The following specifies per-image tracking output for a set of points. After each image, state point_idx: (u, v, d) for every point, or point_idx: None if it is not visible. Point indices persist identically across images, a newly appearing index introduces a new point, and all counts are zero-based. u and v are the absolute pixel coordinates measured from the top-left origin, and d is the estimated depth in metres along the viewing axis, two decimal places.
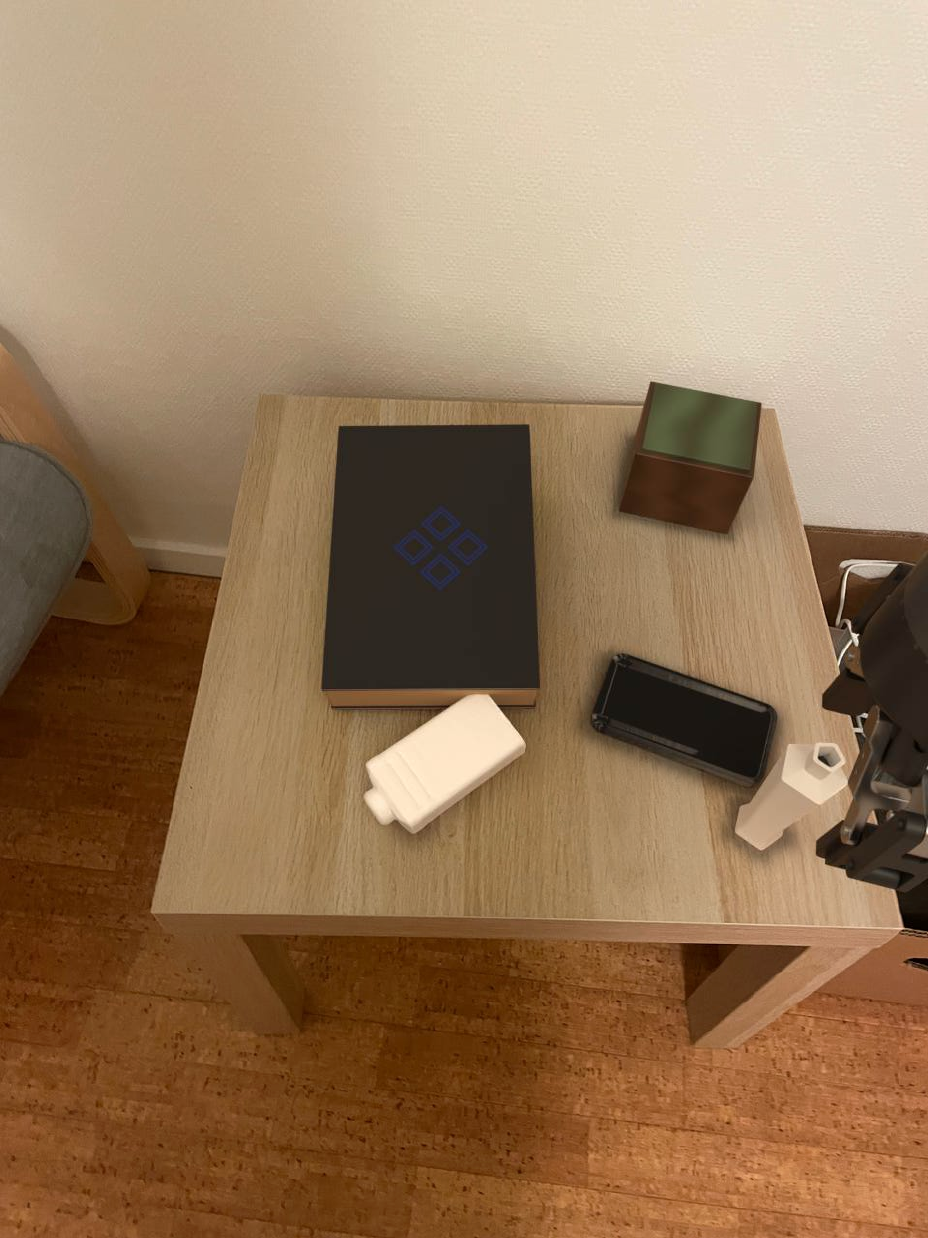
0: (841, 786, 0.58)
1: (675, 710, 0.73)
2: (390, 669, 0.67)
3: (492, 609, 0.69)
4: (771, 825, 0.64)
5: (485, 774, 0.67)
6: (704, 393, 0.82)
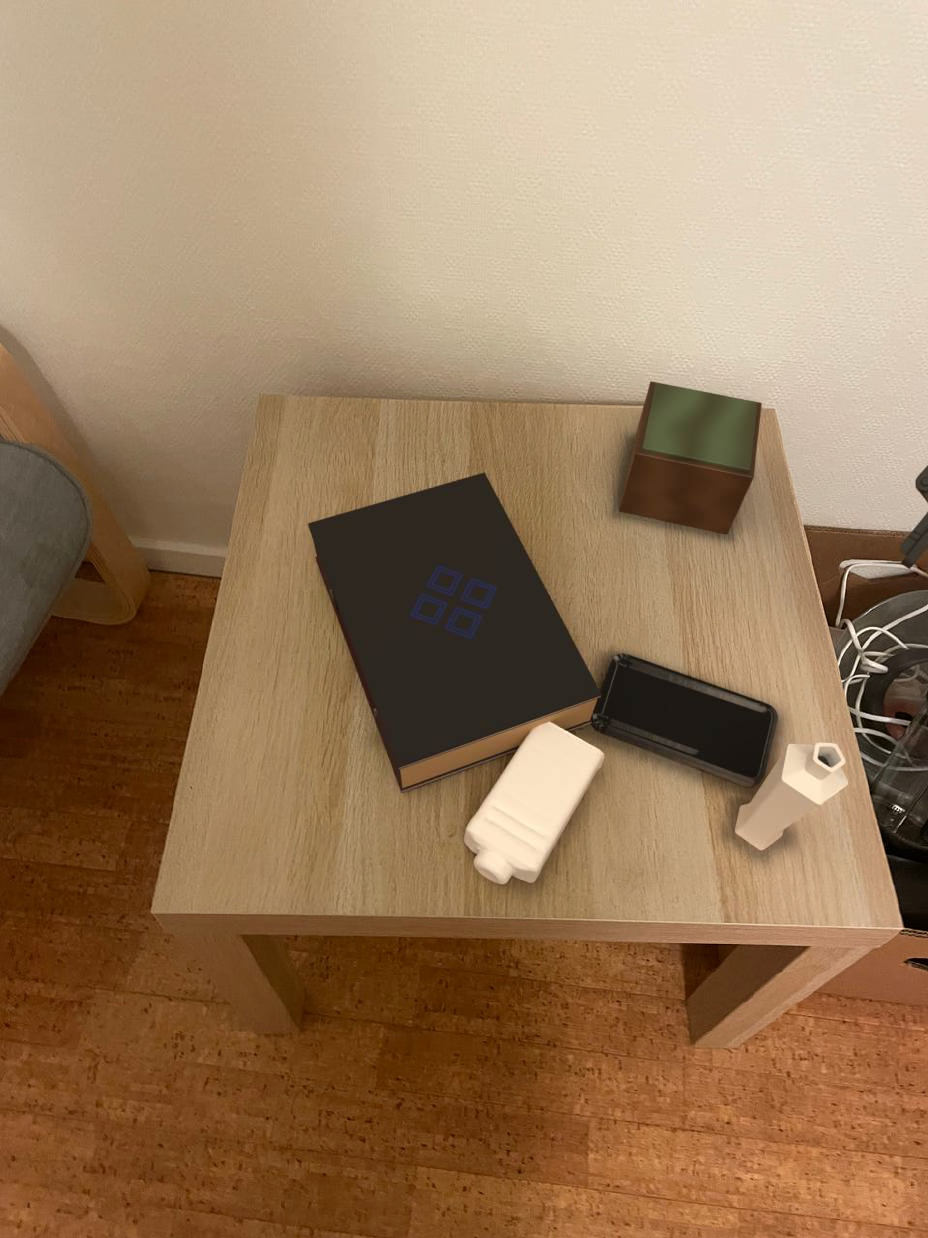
0: (841, 786, 0.58)
1: (675, 710, 0.73)
2: (457, 726, 0.66)
3: (527, 640, 0.70)
4: (771, 825, 0.64)
5: (580, 796, 0.66)
6: (704, 393, 0.82)
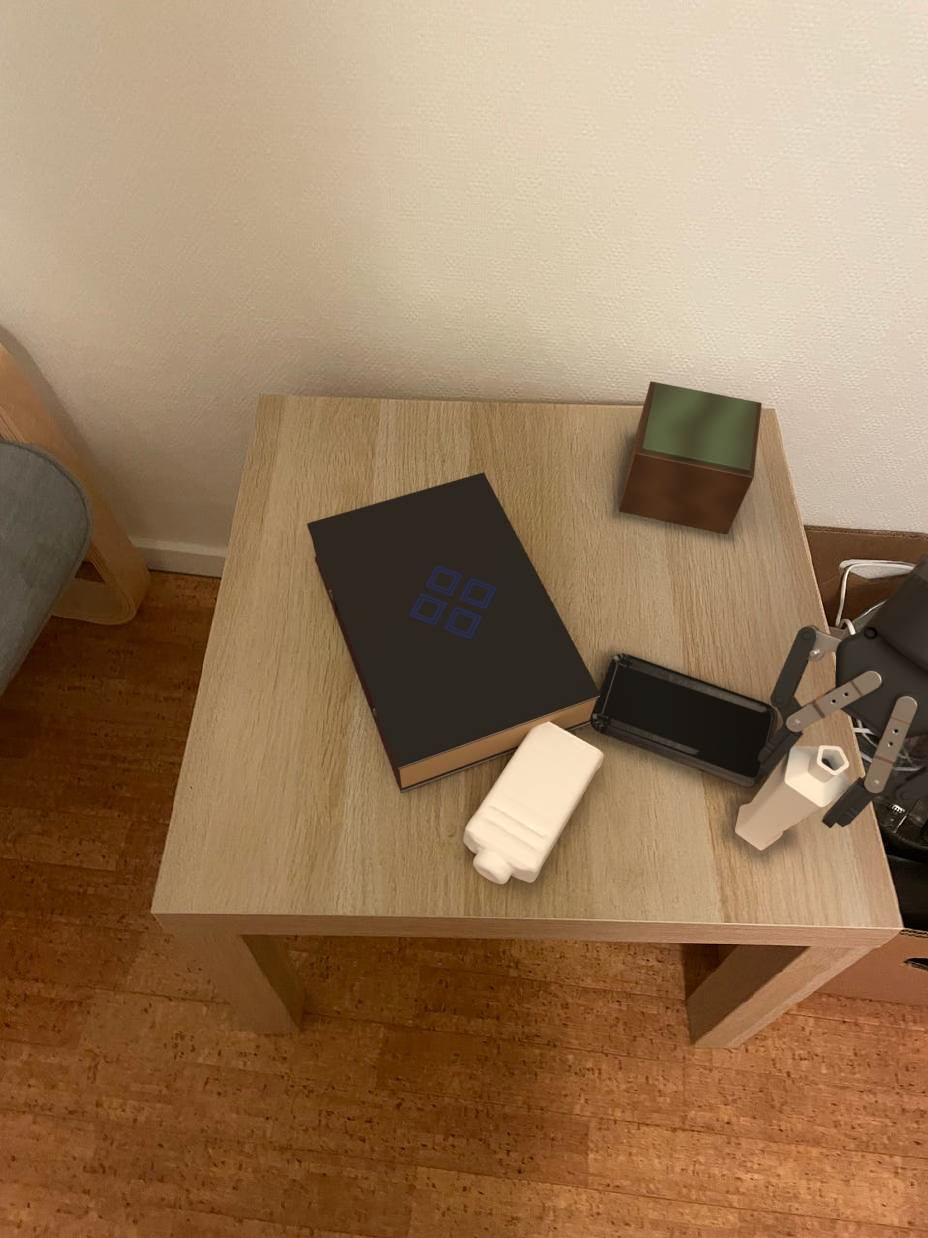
0: (843, 789, 0.58)
1: (675, 710, 0.73)
2: (456, 726, 0.66)
3: (526, 640, 0.70)
4: (772, 825, 0.64)
5: (580, 796, 0.66)
6: (704, 393, 0.82)
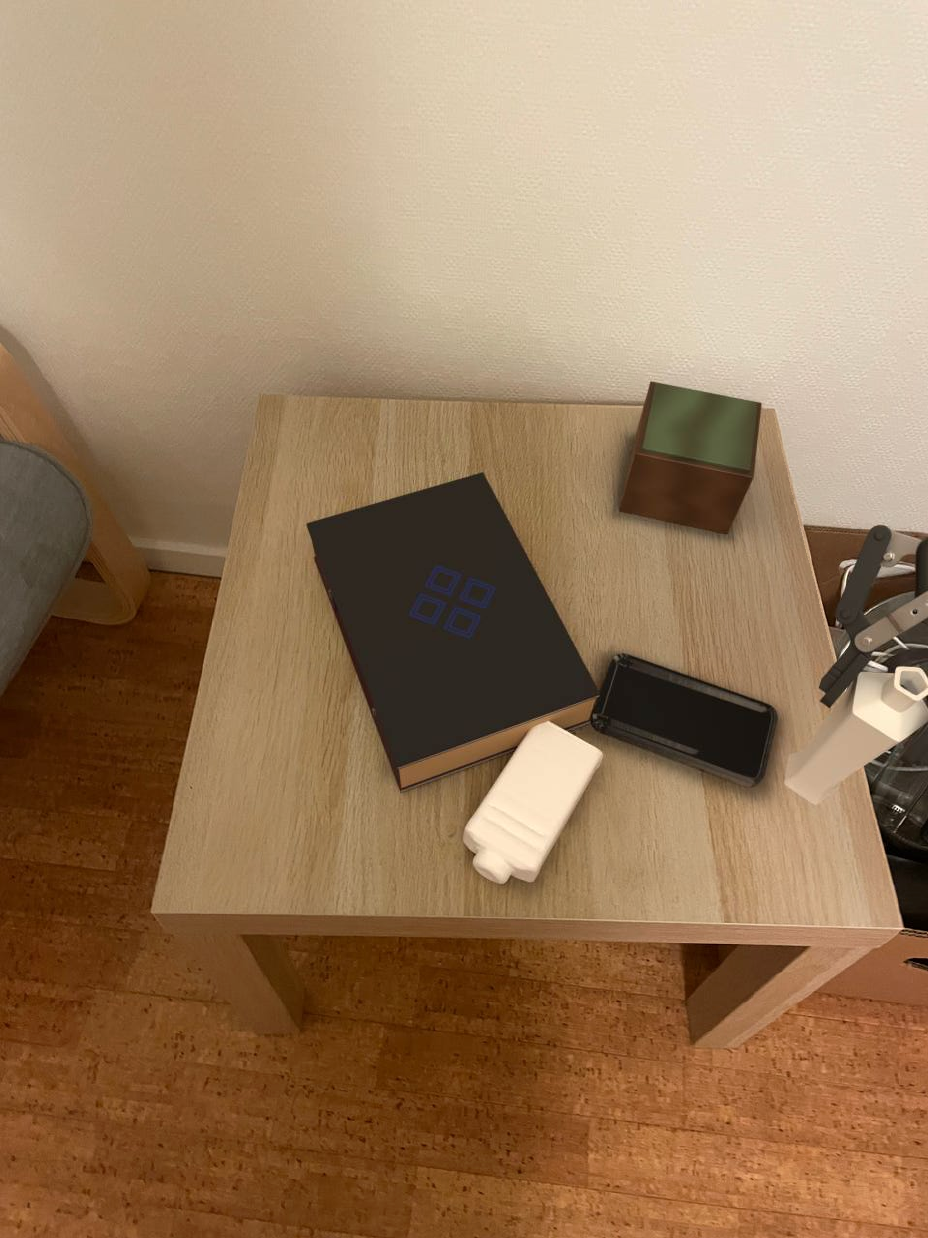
0: (924, 720, 0.48)
1: (675, 710, 0.73)
2: (456, 725, 0.66)
3: (525, 640, 0.70)
4: (832, 772, 0.55)
5: (579, 796, 0.66)
6: (704, 393, 0.82)
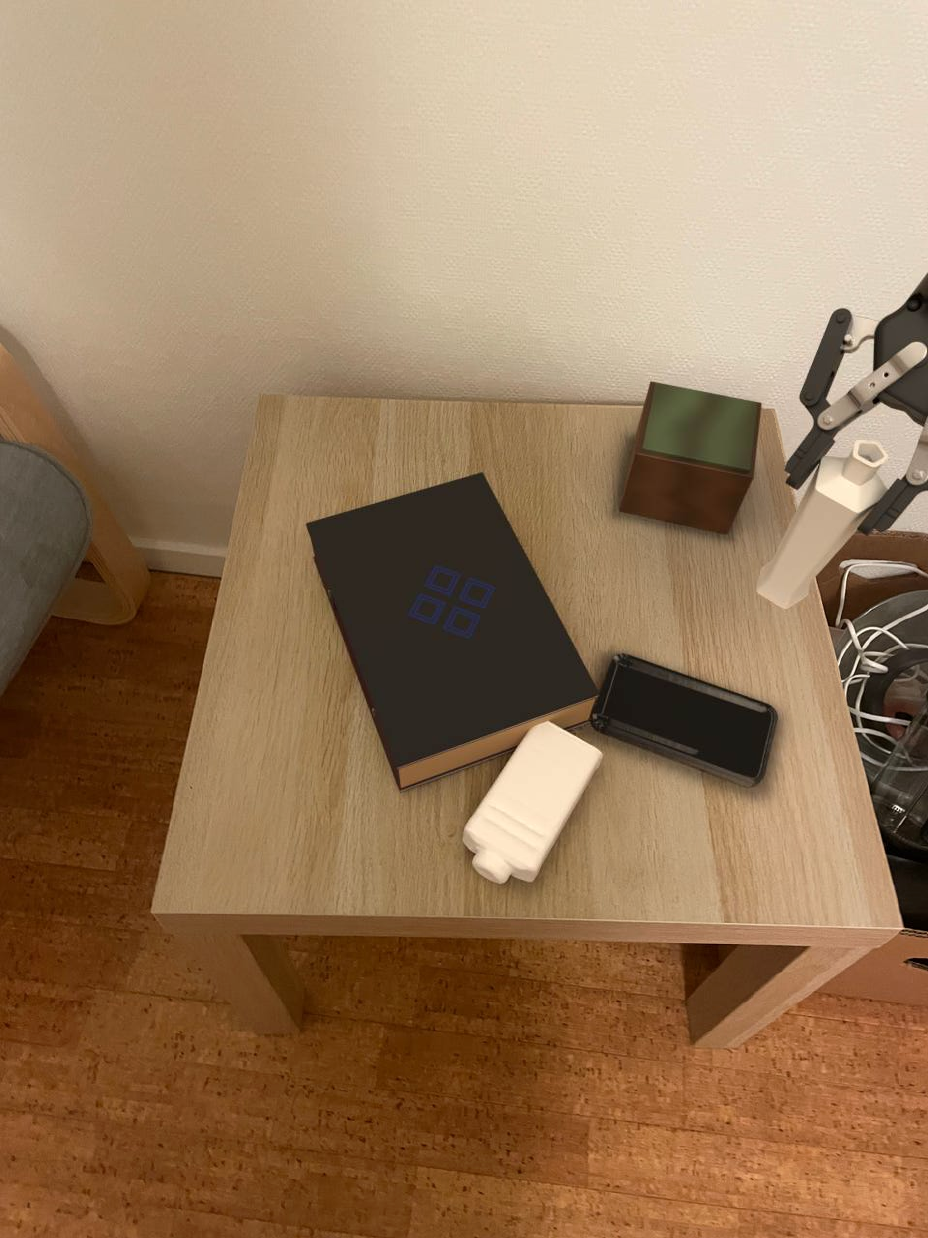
0: (881, 495, 0.52)
1: (675, 710, 0.73)
2: (455, 725, 0.66)
3: (525, 640, 0.70)
4: (799, 566, 0.58)
5: (579, 796, 0.66)
6: (704, 393, 0.82)
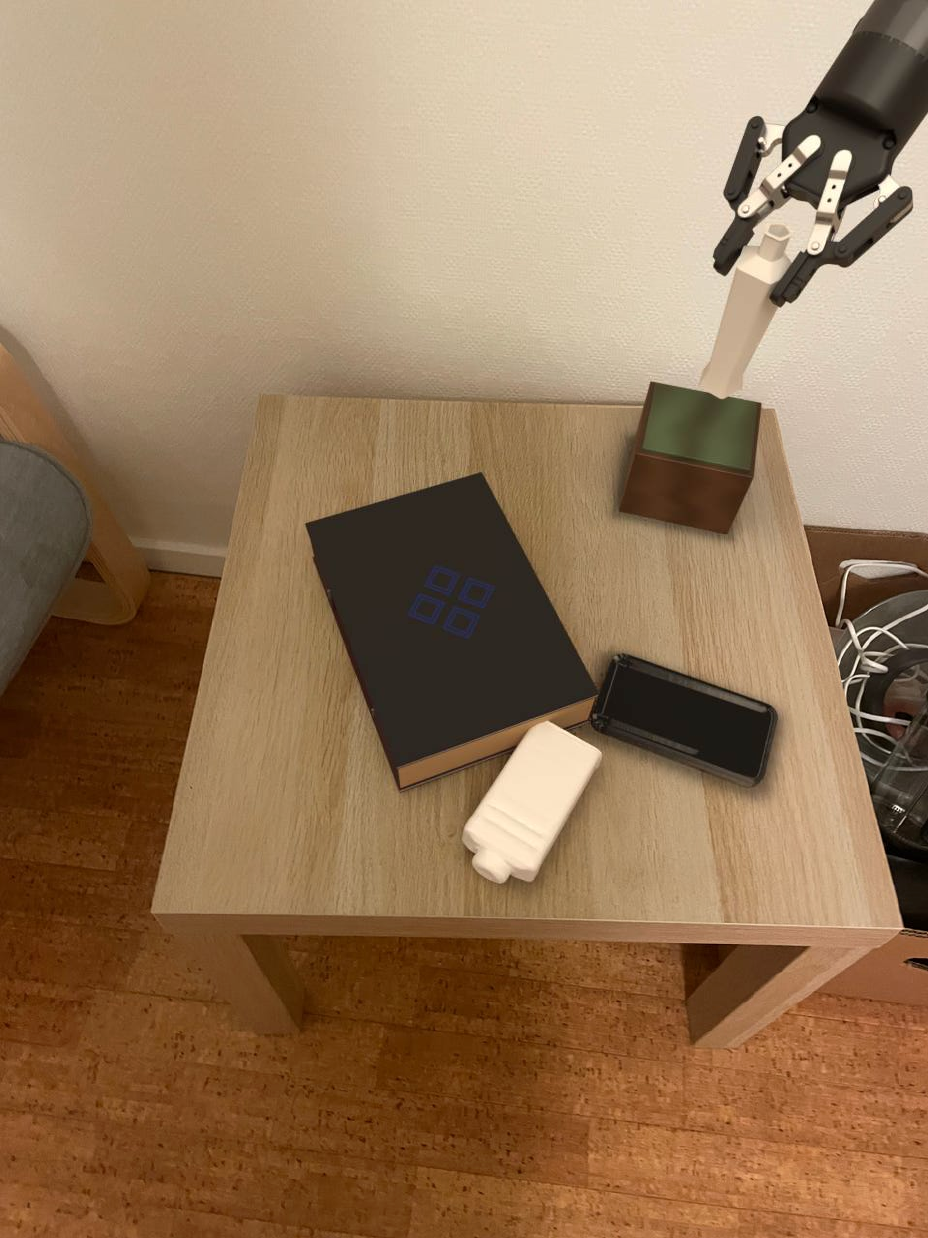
0: None
1: (675, 710, 0.73)
2: (455, 725, 0.66)
3: (524, 639, 0.70)
4: (730, 351, 0.70)
5: (578, 795, 0.66)
6: (704, 393, 0.82)
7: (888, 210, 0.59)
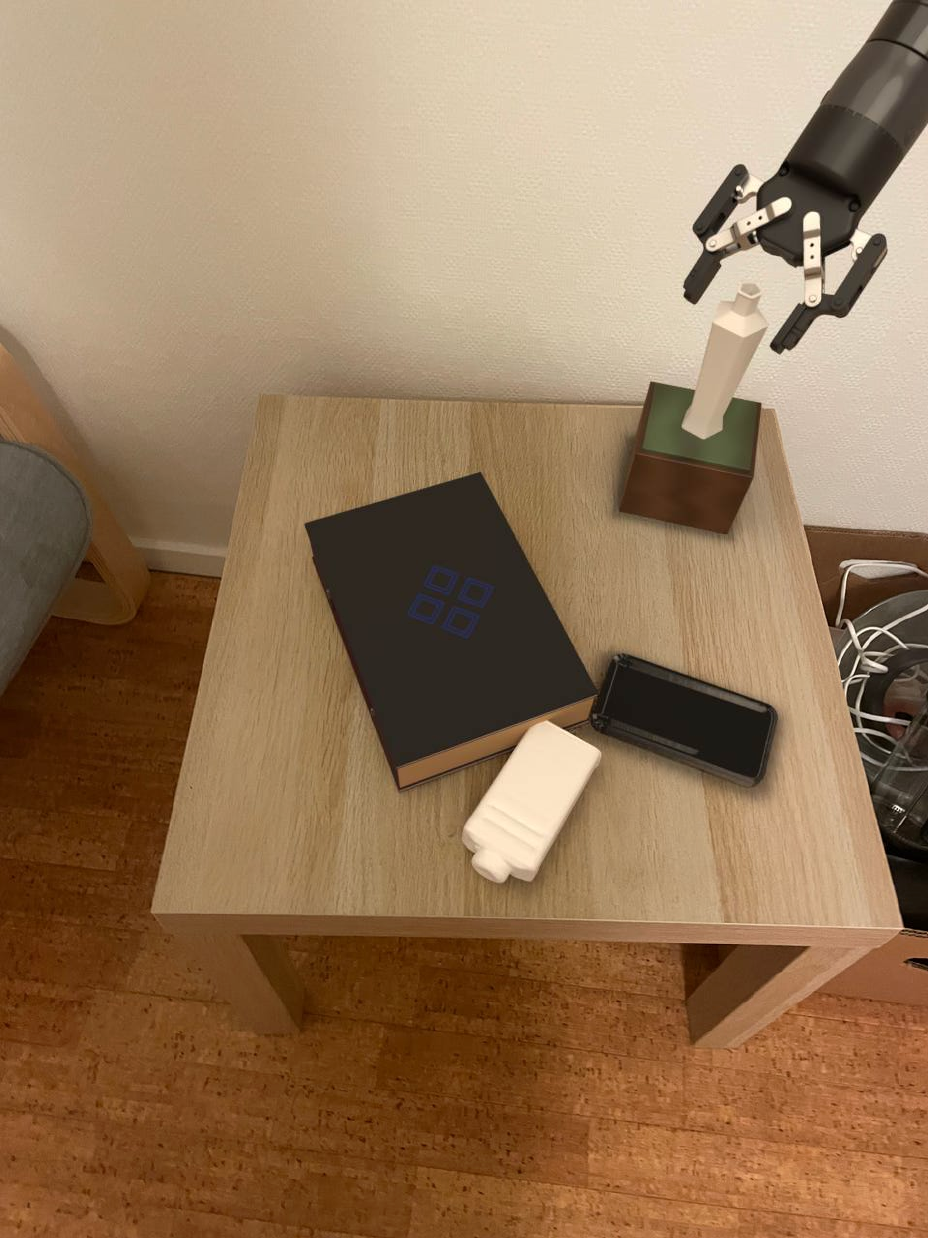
0: (762, 325, 0.69)
1: (675, 710, 0.73)
2: (454, 725, 0.66)
3: (523, 639, 0.70)
4: (710, 396, 0.75)
5: (578, 795, 0.66)
6: None
7: (869, 257, 0.63)
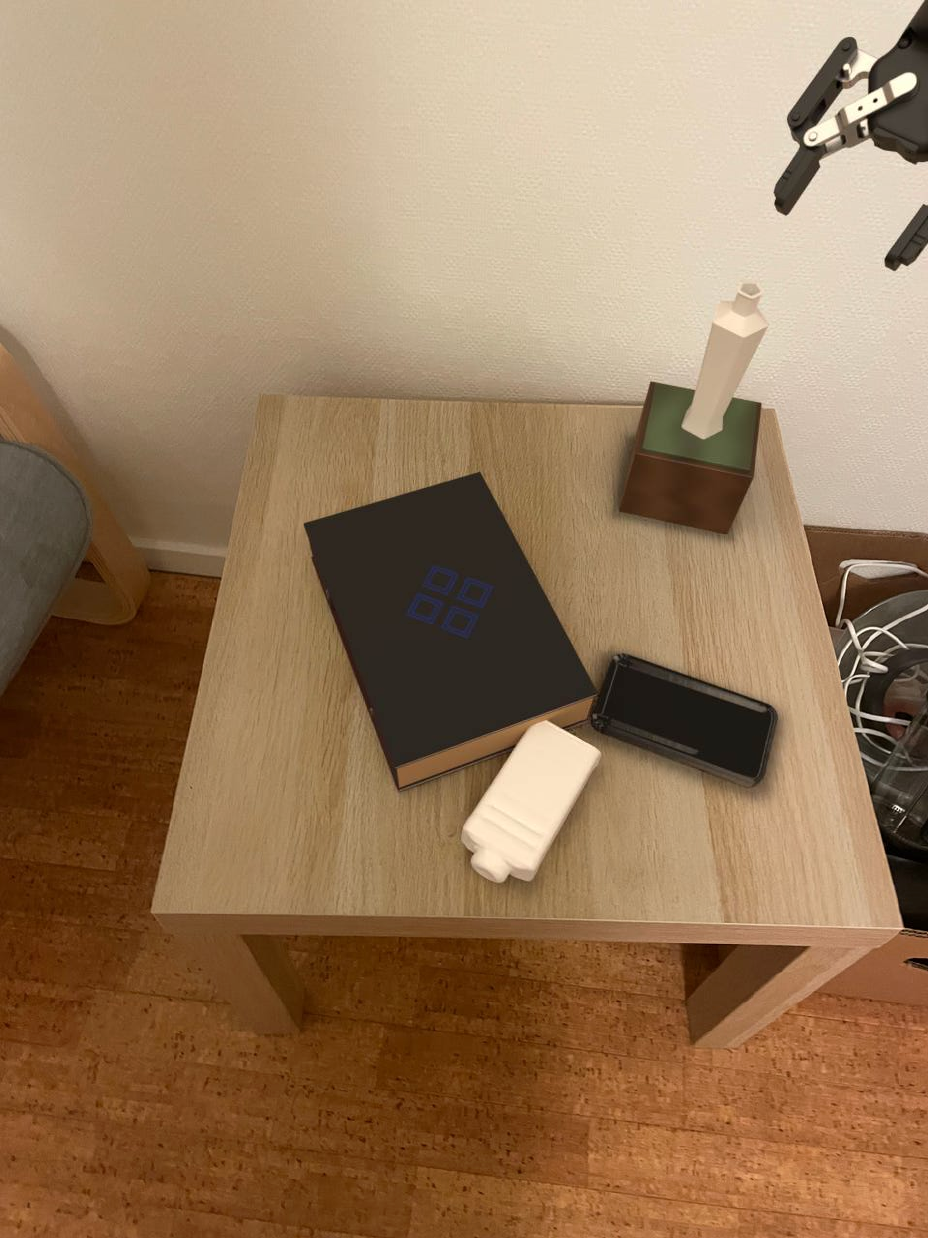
0: (762, 325, 0.69)
1: (675, 710, 0.73)
2: (453, 725, 0.66)
3: (523, 639, 0.70)
4: (710, 396, 0.75)
5: (577, 795, 0.66)
6: None
7: None
